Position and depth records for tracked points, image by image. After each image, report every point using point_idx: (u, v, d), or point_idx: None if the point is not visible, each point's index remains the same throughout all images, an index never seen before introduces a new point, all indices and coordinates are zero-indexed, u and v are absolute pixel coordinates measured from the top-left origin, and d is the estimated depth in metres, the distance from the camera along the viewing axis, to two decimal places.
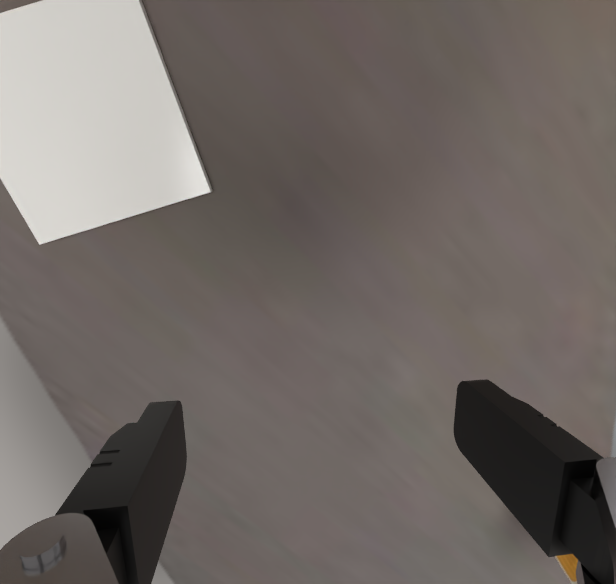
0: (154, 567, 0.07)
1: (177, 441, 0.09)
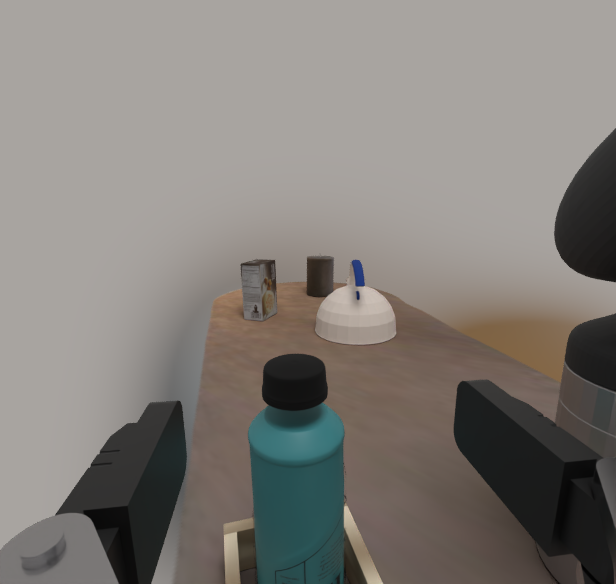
0: (154, 567, 0.07)
1: (177, 441, 0.09)
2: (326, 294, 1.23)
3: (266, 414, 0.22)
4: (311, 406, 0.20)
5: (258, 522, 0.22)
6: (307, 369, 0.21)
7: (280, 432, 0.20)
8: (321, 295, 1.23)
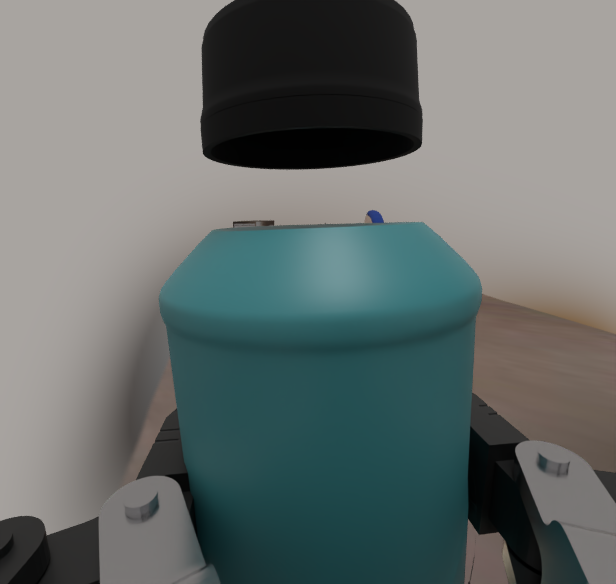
0: None
1: None
2: None
3: None
4: (383, 121, 0.05)
5: None
6: None
7: (262, 237, 0.05)
8: None
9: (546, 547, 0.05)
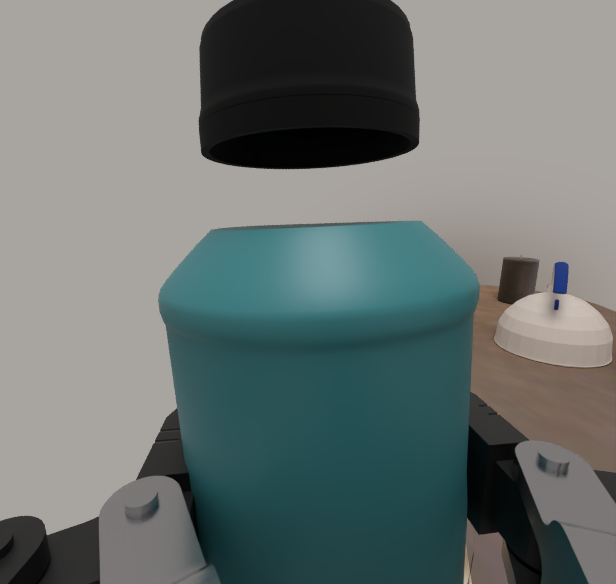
0: None
1: None
2: None
3: None
4: (380, 120, 0.05)
5: None
6: None
7: (260, 236, 0.05)
8: None
9: (546, 547, 0.05)
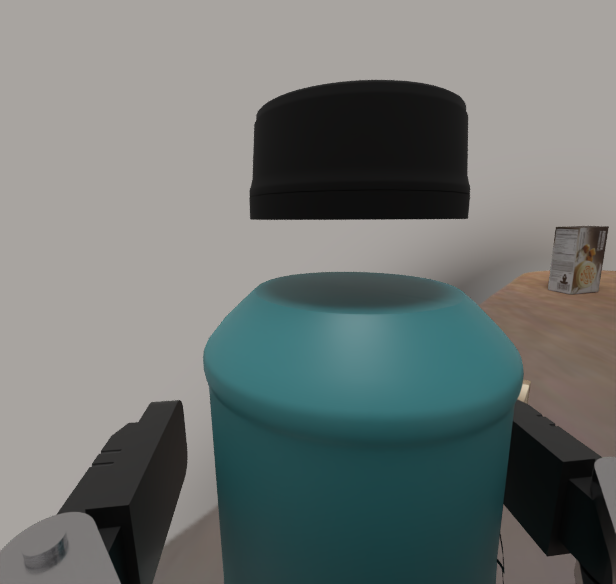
0: (155, 566, 0.07)
1: (178, 441, 0.09)
2: None
3: (263, 288, 0.07)
4: (439, 212, 0.05)
5: None
6: None
7: (315, 318, 0.05)
8: None
9: None
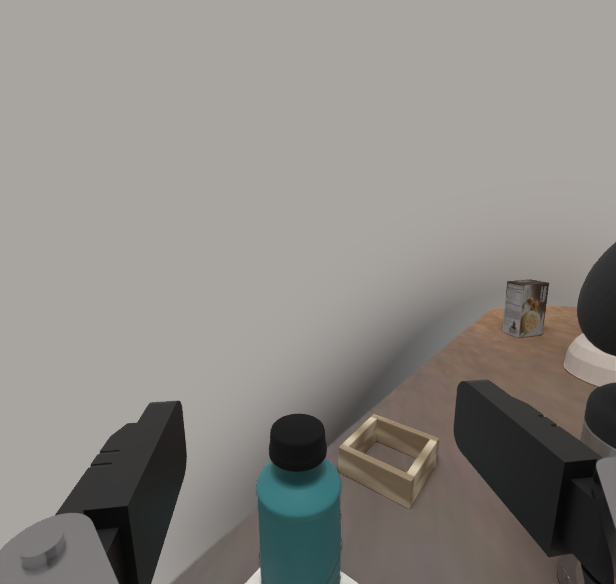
0: (154, 567, 0.07)
1: (177, 441, 0.09)
2: None
3: (272, 469, 0.25)
4: (312, 467, 0.23)
5: (264, 565, 0.25)
6: (309, 433, 0.24)
7: (285, 489, 0.23)
8: None
9: None
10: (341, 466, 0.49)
